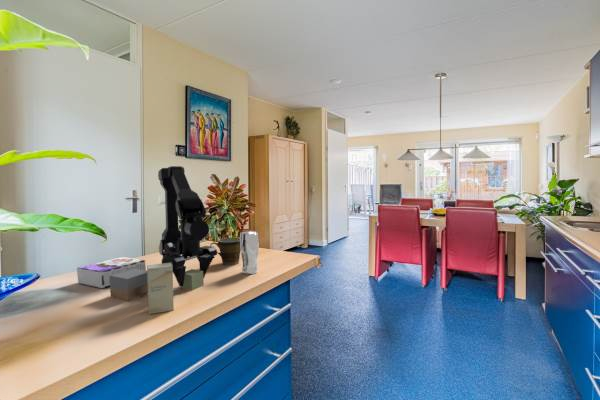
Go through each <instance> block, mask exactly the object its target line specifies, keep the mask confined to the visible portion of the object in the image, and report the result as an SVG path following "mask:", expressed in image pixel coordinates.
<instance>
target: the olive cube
mask: <svg viewBox="0 0 600 400" xmlns="http://www.w3.org/2000/svg"><path fill="white" fill-rule="evenodd" d="M204 284H205V283H204V278H203V271H201V270H200V269H193V268H191V269H188V270H185V277H184V283H183V286H182V287H180V289H184V290H189V291H194V290H197V289H198V288H201V287H203V286H204Z"/></svg>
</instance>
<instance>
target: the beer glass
mask: <svg viewBox="0 0 600 400" xmlns="http://www.w3.org/2000/svg"><path fill="white" fill-rule="evenodd" d="M239 234H240V235H239V238H240V256H241V259H242V268H241V273H242V274H244V275H254V274H257V273H259V268H258V255H259V249H260V247H259V246H260V244H259V232H258V231H256V230H255V231H254V230H250V231H249V230H248V231H247V230H246V231H241V232H240V233H239Z"/></svg>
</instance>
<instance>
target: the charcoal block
mask: <svg viewBox="0 0 600 400" xmlns="http://www.w3.org/2000/svg"><path fill="white" fill-rule="evenodd" d="M146 284H148V282H147V269H146V270H139V269H131V270H127V271H124V272H121V273H117V274H114V275H110V286H109V288H110V287H112V288H117V289H122V290H127V291H129V290H132V289H135V288H137V287H140V286H143V285H146Z"/></svg>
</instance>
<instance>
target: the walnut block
mask: <svg viewBox="0 0 600 400" xmlns="http://www.w3.org/2000/svg"><path fill="white" fill-rule="evenodd" d="M109 289H110V291H109V293H110V298H112V299H115V300H116V299H117V300H121V301H125V302H131V301H134V300H136V299H138V298H139V299H140V298H141V297H144V296H146V295H147V296H148V284H146V285H143V286H140V287H137V288H135V289H132V290H129V291H127V290H122V289H117V288H112V287H110V286H109Z"/></svg>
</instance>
